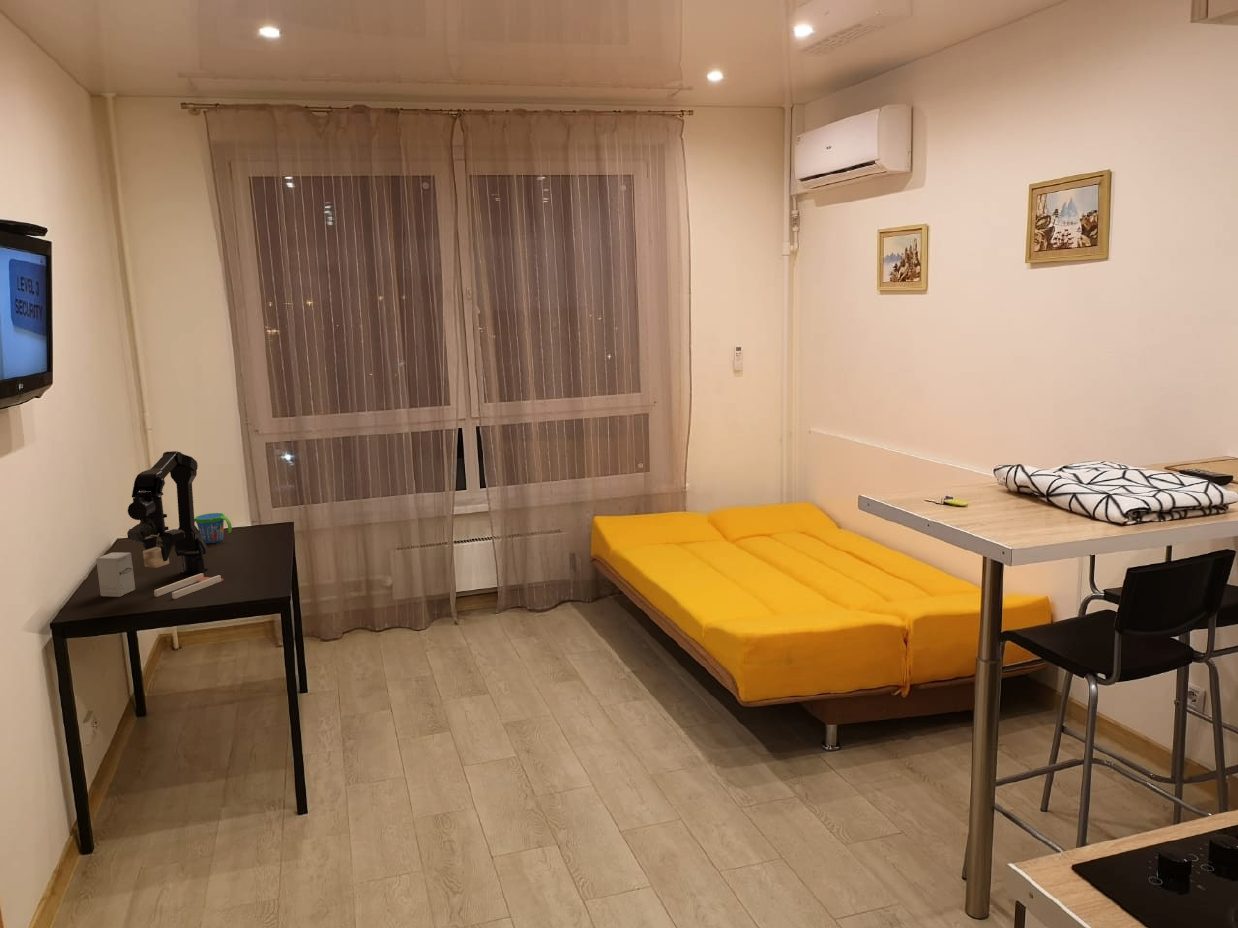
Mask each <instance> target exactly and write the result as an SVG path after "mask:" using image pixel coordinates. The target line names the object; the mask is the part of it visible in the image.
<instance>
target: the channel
mask: <svg viewBox="0 0 1238 928" xmlns="http://www.w3.org/2000/svg"><path fill="white" fill-rule="evenodd" d="M223 581H225V580H224V578H222V576H221V575H220V574H219V575H215V576H213V577H212V576H211V577H210V576H209V577H208V576H205V575H204V573H202V572H199V573H197V574H194V575H193V576H190V577H187V578H185V579H181V580H179V581H175V582H173V583H171V584H167V585H165V586H162V587H160V588H157V589H154V590H153V594H154V597H157V598H158V597H160V596H162V595H166V594H168V593H171V596H172V597H171V598H172V599H173V600H176V599H179V598H181V597H184V596H186V595H189V594H193V592H197V591H200V590H202V589H205V588H208V587H210V586H213V585H215V584H218V583H221V582H223Z"/></svg>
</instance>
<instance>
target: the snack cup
mask: <svg viewBox="0 0 1238 928" xmlns="http://www.w3.org/2000/svg"><path fill="white" fill-rule="evenodd" d="M224 521H225V522H226V525H227V526H228V527H227V533H229V534H230V533H231V532H232V530H233V528H232V523H231V521H230V519H229V518H228V517H227V516H225V514H224V513H222V512H213V513H212V512H211V513H204V514H201V515H200V514H199V515H197V516H194V522H195V523H196V524H197V526H196V527H197V529H198V530H199V531H200V534H201V538H202V540H203V541H204V543H205V544H214V543H215V544H216V543H219V542H222V541H223V538H224V525H225V523H224Z"/></svg>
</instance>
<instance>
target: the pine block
mask: <svg viewBox="0 0 1238 928" xmlns="http://www.w3.org/2000/svg"><path fill="white" fill-rule="evenodd" d="M142 555H143V563H144V567H145V568H146V567H147V568H153V569H157V568H160V567H162V566H167V565H169V564H170V556H169V557H168V560H167V561H163V557H162V552H161V547H159V546H158V547H157V546H156V547H155V548H151V549H148V550H146V549H145V550H143V551H142Z"/></svg>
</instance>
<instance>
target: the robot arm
mask: <svg viewBox="0 0 1238 928" xmlns="http://www.w3.org/2000/svg"><path fill="white" fill-rule="evenodd" d="M197 470H198V461H197V460H196V459H195V458H193V457H192V456H190V455H187V454H183V453H182V452H181V451H178V450H174V451H165V452H163V454H162V455H161V457H160V458H159V460H158V461H157V462H156V463H154V464H153V466H152V467H151V468H150V469H147V470H144V471H141V472H140V473H138V474H137V475H136V477H135V478H134V483H133V487H132V493H131V498H132V502H130V504H129V505H128V507H127V514H128V516H129V517H130V518H131V519H133V520H136V521H139V523H138V524H136V525H134V526H133V527H131V528H129V529H128V531H127V533H126V535H127V539H130V540H131V541H132V542H134V541H135V542H138V543H140V544H142V546H143V547H144V549H145V550H148V549H151V548H155V547H157V545H158V546H160V548H161V552H162V557H163V561H167V560H168V557H169V558H170V554H171V551H172V550H173V548H174V550H175V551H174V552H175V554H176V556H177V557H181V560H182V569H183V570H181V571H179V574H186V575H197V574H200V573H202V572H204V571H207V570H208V569H209V568H208V567H205V559H204V555H206V554H207V552H208V546H207V543H204V541H203V540H202V538H201V534H200V531H199V530H198V527H197V526H196V524H195V523H196V522H194V519H195V510H194V509H195V508H194V496H193V482H194V481H195V478H196V477H197ZM169 474H170V477H171V479H172V480H173V481H174V483H175V484H176V485H175V486H176V497H177V498H176V500H177V512H178V528H177V529H176V528H173V529H169V526H167V525H166V523H165V522H166V521H165V518H168V514H167V513H165V512H164V506H163V498H162V497H163V496H164V492H163V490H164V489H163V488H164V486H165V484H166V480H165V478H166V477H167V476H168V475H169ZM158 538H160V541H157V539H158Z"/></svg>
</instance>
